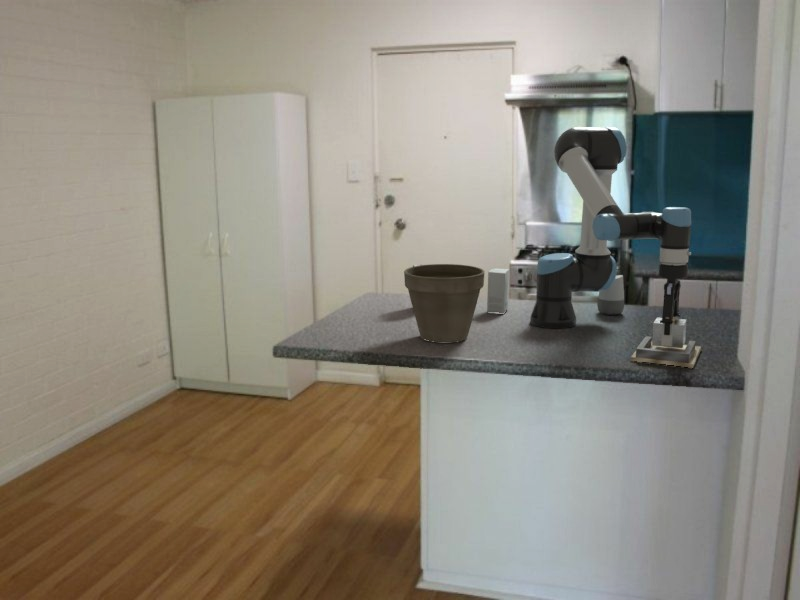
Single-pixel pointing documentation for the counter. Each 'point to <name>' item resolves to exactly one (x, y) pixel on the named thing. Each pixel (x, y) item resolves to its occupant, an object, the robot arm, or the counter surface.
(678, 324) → the lock block
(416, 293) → the plant pot
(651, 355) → the board
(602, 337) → the counter surface
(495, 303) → the skincare box
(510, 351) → the counter surface
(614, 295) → the smart speaker
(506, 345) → the counter surface
